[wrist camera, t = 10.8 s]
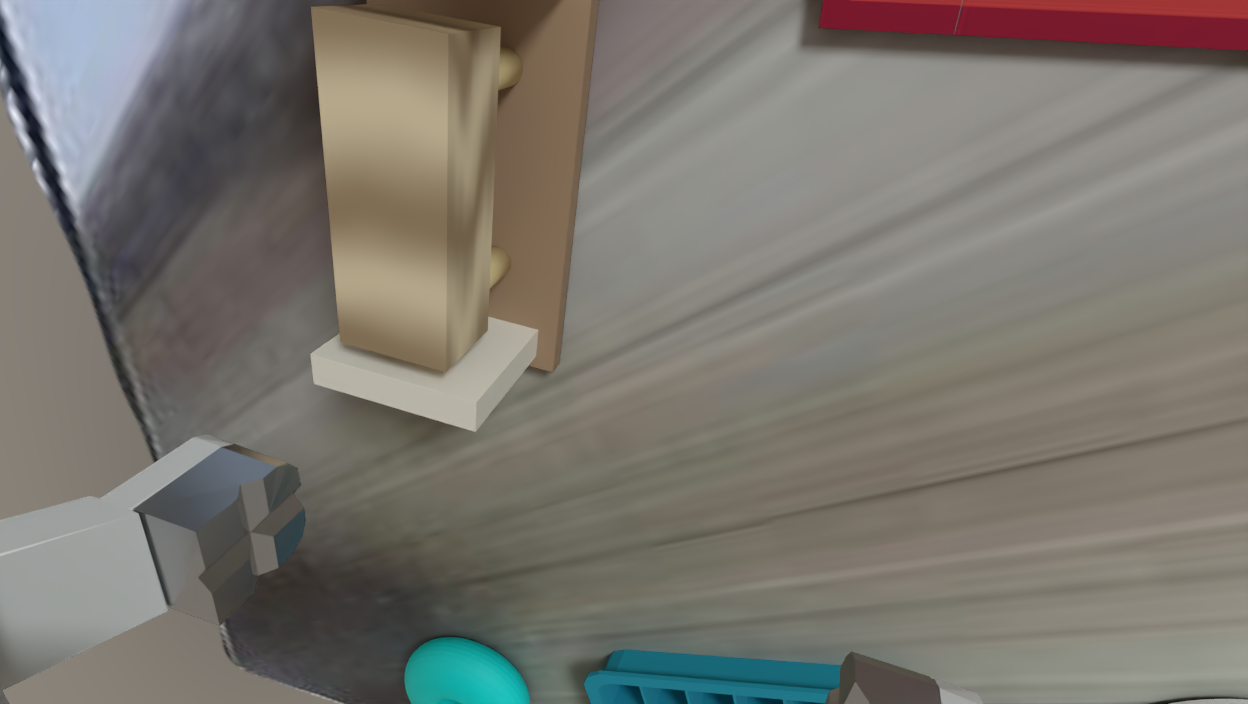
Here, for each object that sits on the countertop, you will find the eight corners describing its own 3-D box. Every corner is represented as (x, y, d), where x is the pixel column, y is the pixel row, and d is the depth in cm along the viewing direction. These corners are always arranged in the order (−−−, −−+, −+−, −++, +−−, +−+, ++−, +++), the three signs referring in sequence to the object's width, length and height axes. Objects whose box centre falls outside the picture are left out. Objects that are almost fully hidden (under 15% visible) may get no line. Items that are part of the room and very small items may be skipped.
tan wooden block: (379, 3, 26) (311, 6, 22) (501, 26, 25) (448, 34, 22) (391, 304, 32) (340, 342, 29) (487, 330, 32) (446, 372, 28)
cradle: (559, 363, 36) (496, 450, 30) (392, 317, 38) (296, 390, 31) (606, -71, 26) (526, -89, 19) (375, -108, 28) (226, -137, 21)
